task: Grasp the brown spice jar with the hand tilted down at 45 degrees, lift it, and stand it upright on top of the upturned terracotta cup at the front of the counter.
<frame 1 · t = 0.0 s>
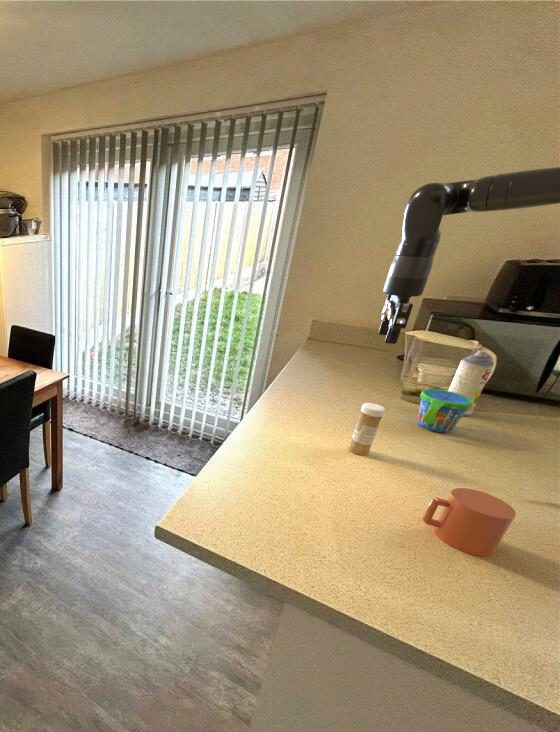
hand: (386, 338, 101), 28 cm above the countertop, tool pointing down, fingers open, 8 cm apart
aerosol can: (455, 411, 123), on the countertop
upturned cup: (462, 539, 76), on the countertop
brown spice jar: (358, 451, 104), on the countertop
snack cup: (433, 427, 115), on the countertop
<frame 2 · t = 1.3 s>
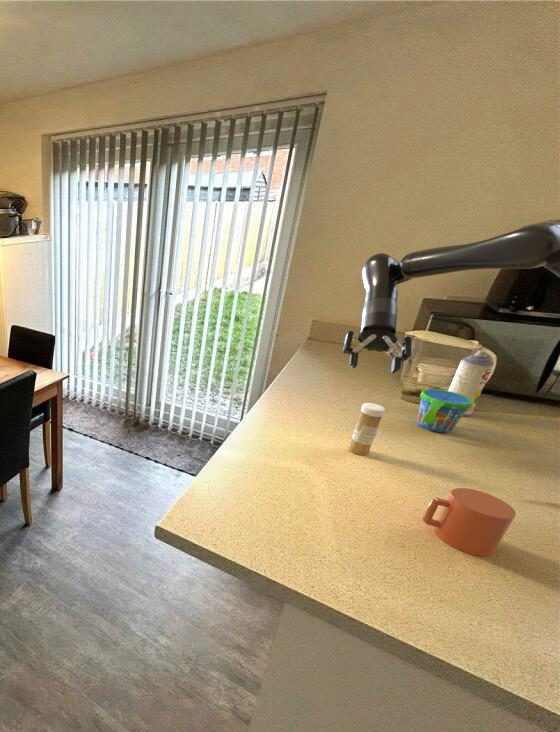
hand: (373, 369, 105), 20 cm above the countertop, tool tilted 45°, fingers open, 8 cm apart
nothing on the countertop moved.
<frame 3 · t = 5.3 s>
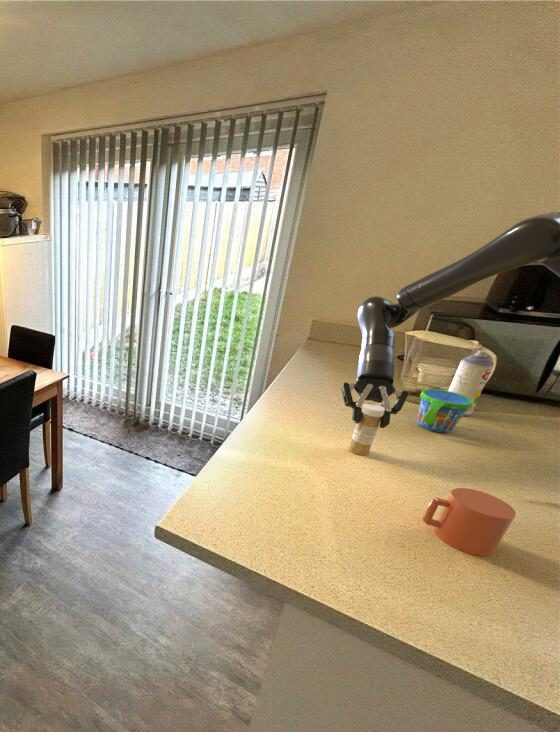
hand: (370, 424, 99), 9 cm above the countertop, tool tilted 45°, fingers closed on brown spice jar, 4 cm apart
brown spice jar: (358, 451, 104), on the countertop, touching gripper
everything else where it was.
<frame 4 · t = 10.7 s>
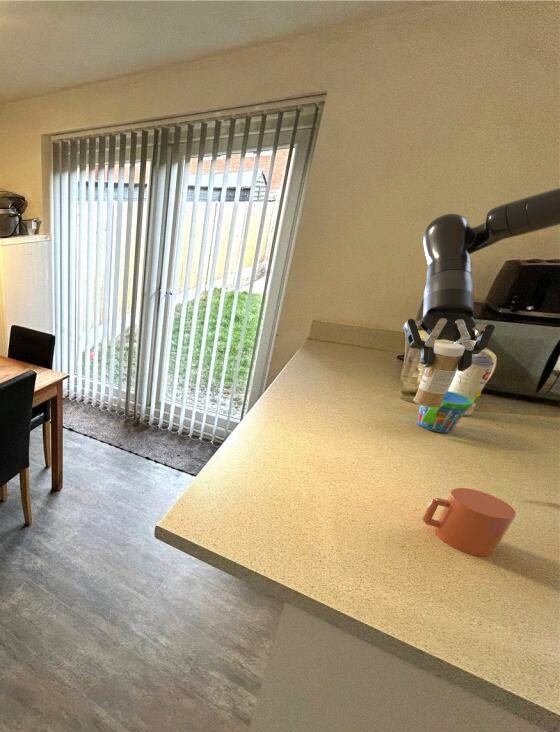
hand: (445, 367, 79), 30 cm above the countertop, tool tilted 45°, fingers closed on brown spice jar, 4 cm apart
brown spice jar: (426, 404, 84), point 20 cm above the countertop, touching gripper
everything else where it was.
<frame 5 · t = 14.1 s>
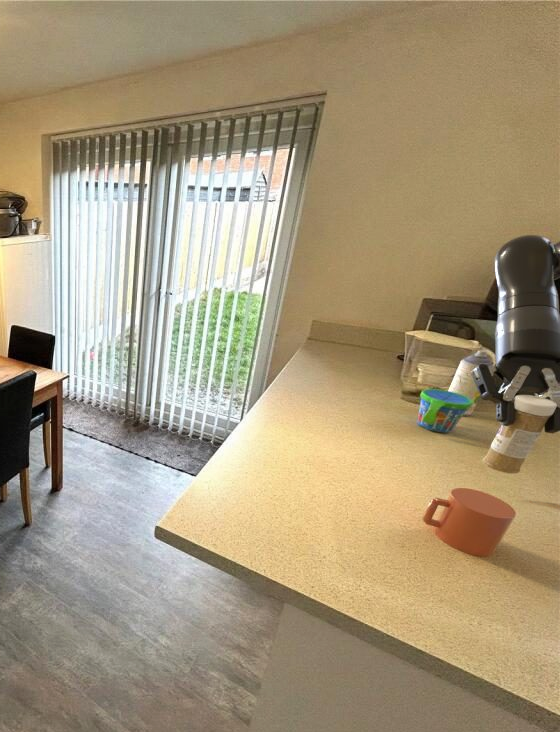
hand: (529, 427, 64), 26 cm above the countertop, tool tilted 45°, fingers closed on brown spice jar, 4 cm apart
brown spice jar: (499, 468, 69), point 16 cm above the countertop, touching gripper
everything else where it was.
when the fingers open (18 cm above the countertop, at t = 16.6 s): brown spice jar stays where it is, resting on upturned cup.
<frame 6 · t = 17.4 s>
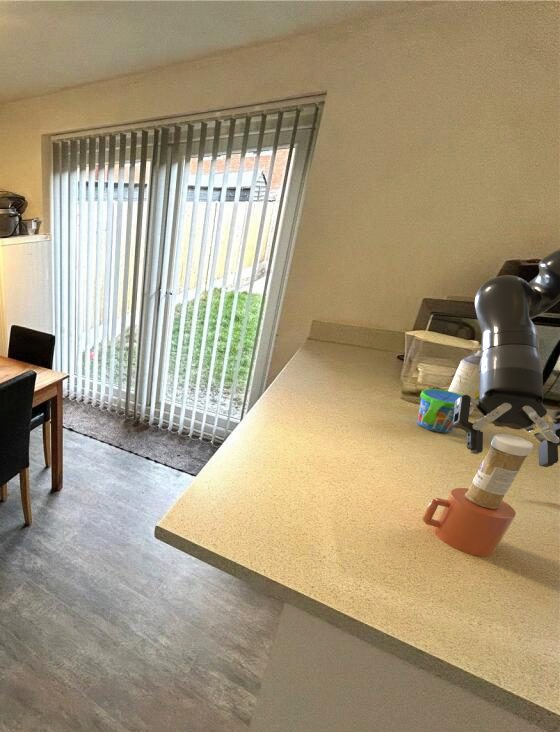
hand: (510, 459, 67), 19 cm above the countertop, tool tilted 45°, fingers open, 8 cm apart
upturned cup: (462, 539, 76), on the countertop, touching brown spice jar
brown spice jar: (481, 502, 72), point 9 cm above the countertop, touching upturned cup
everything else where it was.
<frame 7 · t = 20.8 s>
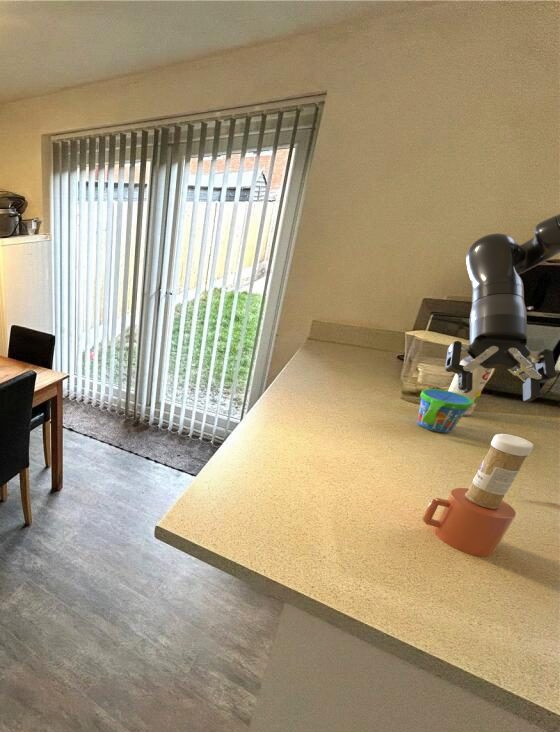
hand: (497, 395, 74), 26 cm above the countertop, tool tilted 45°, fingers open, 8 cm apart
nothing on the countertop moved.
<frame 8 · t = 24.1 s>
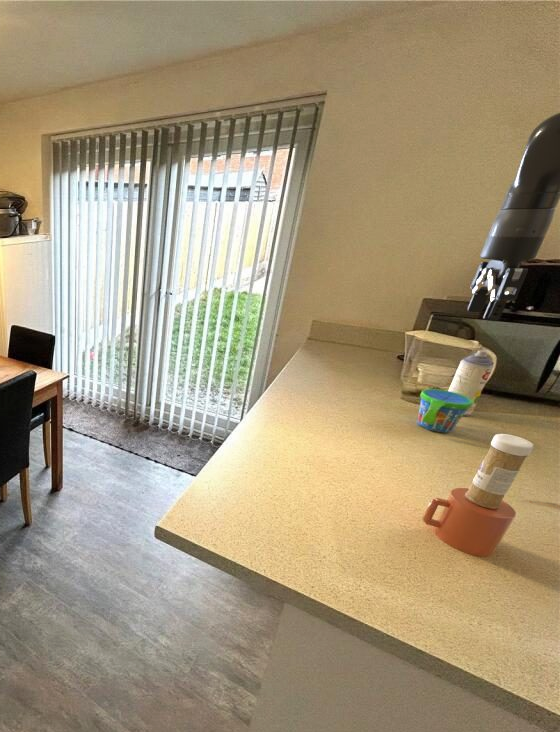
hand: (481, 315, 83), 38 cm above the countertop, tool pointing down, fingers open, 8 cm apart
nothing on the countertop moved.
at the end: brown spice jar 0.2 cm off-centre on the upturned cup, point 8.8 cm above the upturned cup's base; brown spice jar tilted 0°; the gripper is holding nothing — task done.
